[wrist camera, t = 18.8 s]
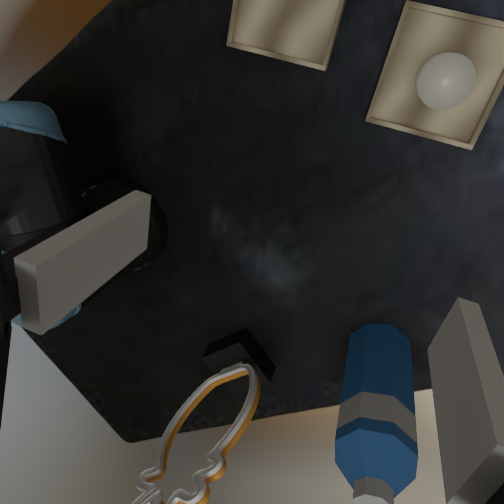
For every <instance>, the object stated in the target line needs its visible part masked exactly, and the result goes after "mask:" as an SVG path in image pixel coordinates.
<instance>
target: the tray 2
mask: <svg viewBox="0 0 504 504" xmlns="http://www.w3.org/2000/svg"><path fill="white" fill-rule="evenodd" d="M440 52H451V53H459V54H462V55H464V56H466V57H467V58H469V59H470V60H471V62H472V63H473V65H474V67H475V70H476V83H475V86H474V89H473V91H472V93H471V94H470V96H469V97H468V98H467V99H466V100H465V101H464V102H463V103H461V104H460V105H458V106H457V107H454V108H452V109H448V110H435V109H432V108H430V107H428V106H427V105H425V104H424V103H423V101H422V100H421V98H420V97H419V95H418V93H417V91H416V89H415V83H414V82H415V75H416V72H417V70H418V68H419V66H420V65H421V64H422V62H423V61H424V60H426V59H427V58H428V57H430V56H432V55H434V54H436V53H440ZM503 86H504V21H499V20H495V19H490V18H486V17H481V16H476V15H472V14H467V13H463V12H458V11H454V10H449V9H445V8H440V7H435V6H431V5H426V4H422V3H417V2H413V1H408V0H406V3H405V6H404V8H403V11H402V14H401V17H400V20H399V23H398V26H397V29H396V32H395V35H394V38H393V41H392V44H391V46H390V49H389V52H388V55H387V58H386V61H385V64H384V67H383V70H382V73H381V76H380V79H379V82H378V85H377V87H376V90H375V93H374V96H373V99H372V102H371V105H370V108H369V111H368V114H367V117H366V120H365V121H367V122H371V123H374V124H378V125H382V126H385V127H389V128H393V129H396V130H400V131H404V132H407V133H411V134H415V135H418V136H422V137H426V138H429V139H433V140H436V141H440V142H444V143H447V144H451V145H455V146H458V147H462V148H466V149H469V150H472V148H473V146H474V144H475V142H476V140H477V138H478V136H479V134H480V132H481V130H482V128H483V126H484V124H485V122H486V120H487V118H488V116H489V114H490V112H491V110H492V108H493V106H494V104H495V102H496V100H497V98H498V96H499V94H500V92H501V90H502V88H503Z"/></svg>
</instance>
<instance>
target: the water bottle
mask: <svg viewBox="0 0 504 504" xmlns="http://www.w3.org/2000/svg"><path fill="white" fill-rule="evenodd" d="M417 461H418V449H417V433H416V419H415V404H414V387H413V372H412V357H411V342H410V340H409V339H408V338H407V337H406V336H405V335H404V334H402V333H401V332H400V331H399V330H398V329H397V328H396V327H395V326H394V325H388V324H378V323H366V324H365V325H363V326H362V327H360V328H359V329H357V330H356V331H355V332H353V333H352V334H350V339H349V346H348V353H347V360H346V367H345V374H344V381H343V388H342V395H341V402H340V409H339V416H338V423H337V430H336V438H335V462H336V464H337V465H338V467H339V469H340V470H341V472H342V473H343V475H344V476H345V478H346V479H347V481H348V482H349V484H350V485H351V487H352V488H353V490H354V492H353V504H394V498H395V497H396V496H397V495H398V494H399V493H400V492H401V491H402V490H404V489H405V488H406V487H407V486H408V485H409V484H410V483H411V482H412V481H413V480H414V479H415V477H416V469H417Z"/></svg>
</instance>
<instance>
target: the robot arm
mask: <svg viewBox="0 0 504 504" xmlns="http://www.w3.org/2000/svg"><path fill="white" fill-rule="evenodd" d="M66 144H67V140H66V139H65V138H64V137H63V134H62V131H61V128H60V125H59V122H58V119H57V117H56V114H55V113H54V111H53V110H52V109H51V108H50V107H48V106H47V105H45V104H43V103H39V102H28V101H0V427H1V419H2V409H3V401H4V392H5V382H6V374H7V365H8V356H9V348H10V338H11V330H12V326H11V322H13V323H15V324H17V325H19V326H22V327H23V328H25V329H28V330H30V331H32V332H35V333H37V334H40V335H42V334H44V333H45V332H46V331H47V330H49V329H52V328H54V327H57V326H58V325H60V324H61V323H63V322H64V321H66V320H67V319H69V318H70V317H71V316H73V315H75V314H77V313H78V312H79V311H80V310H81V308H82V307H84V306H85V305H86V304H87V303H88V302H89V301H90V300H92V299H93V298H94V297H95V296H96V295H97V294H99V293H100V292H101V291H102V290H103V289H105V288H106V287H107V286H108V285H109V284H110V283H112V282H113V281H114V280H115V279H116V278H117V277H119V276H120V275H123V274H127V273H130V272H132V271H136V270H140V269H143V268H145V267H147V266H148V265H150V264H151V263H152V262H154V261H155V260H156V259H157V258H158V257H159V256H160V255H161V253H162V252H163V250H164V248H165V245H166V241H167V226H166V222H165V218H164V216H163V213H162V211H161V209H160V208H159V206H158V204H157V203H156V201H155V200H154V199H153V198H152V197H151V195H150V194H148V193H147V192H146V191H145V190H144V189H143V188H141V187H140V186H138V185H136V184H135V183H132V182H130V181H128V180H124V179H119V178H110V179H105V180H102V181H100V182H98V183H96V184H94V185H92V186H90V187H89V188H87V189H86V190H85V191H84V192H83V193H82V195H81V193H80V190H79V187H78V183H77V180H76V177H75V173H74V170H73V166H72V163H71V160H70V156H69V153H68V150H67V146H66ZM428 357H429V365H430V373H431V382H432V390H433V398H434V406H435V414H436V423H437V430H438V438H439V448H440V456H441V464H442V472H443V481H444V489H445V496H446V504H504V377H503V374H502V371H501V368H500V365H499V362H498V359H497V356H496V353H495V350H494V347H493V345H492V342H491V339H490V336H489V333H488V330H487V327H486V324H485V321H484V318H483V315H482V312H481V309H480V306H479V304H477V303H474V302H471V301H468V300H465V299H462V298H459V297H458V298H457V300H456V302H455V303H454V305H453V307H452V308H451V310H450V312H449V314H448V315H447V317H446V319H445V320H444V322H443V324H442V325H441V327H440V329H439V331H438V332H437V334H436V336H435V337H434V339H433V341H432V342H431V344H430V346H429V348H428Z"/></svg>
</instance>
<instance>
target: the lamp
mask: <svg viewBox="0 0 504 504" xmlns="http://www.w3.org/2000/svg"><path fill="white" fill-rule="evenodd" d="M201 359H202V360H203V361H204V363H205V364H206V365H207V366H208V368H209V369H210V370H211V371H212V373H213V374H214V375H213V376H212V377H210V378H209V379H207V380H206V381H205V382H204V383H203V384H202V385H201V386H200V387H198V388H197V390H196V391H195V392H194V393H193V394H192V395H191V396H190V397H189V398H188V399H187V400H186V402H185V403H184V404H183V405H182V406H181V408H180V409H179V410H178V412H177V413H176V414H175V416H174V417H173V419H172V420H171V422H170V423H169V425H168V426H167V428H166V430H165V432H164V434H163V436H162V438H161V441H160V443H159V446H158V449H157V452H156V455H155V461H154V466H153V467H152V468H149V469H146V470H144V471H143V472H142V473H141V474H140V475H139V477H138V478H137V481H136V487H137V488H138V489H139V490H140V491H141V492H142V494H141V495H140V496H138V497H137V498H136V499H135V500H134V501H133V502H132V503H131V504H164V502H163V501H162V498H163V495H164V493H163V491H162V490H161V489H159V490H158V486H157V485H156V484H155V483H150V482H153V481H156V480H159V479H161V478H162V477H163V476H164V474H165V472H166V467H167V466H166V465H167V457H168V453H169V450H170V447H171V444H172V442H173V440H174V438H175V436H176V434H177V432H178V430H179V429H180V427H181V425H182V424H183V422H184V421H185V419H186V418H187V417H188V415H189V414H190V413H191V412H192V410H193V409H194V408H195V407H196V406H197V404H198V403H199V402H200V401H201V400H202V399H203V398H204V397H205V396H206V395H207V394H208V393H209V392H210V391H211V390H212V389H213V388H214V387H216V386H217V385H219V384H222V385H223V386H224V387H225V389H226V390H227V391H228V392H229V394H230V395H234V394H237V393H240V392H243V391H246V390H249V391H248V395H247V398H246V401H245V403H244V405H243V408H242V410H241V411H240V413H239V415H238V417H237V418H236V420H235V421H234V423H233V424H232V426H231V427H230V429H229V430H228V431H227V432H226V434H225V435H224V436H223V437H222V439H221V440H220V441H219V442H218V443H217V444H216V445H215V446H214V447H213V448H212V450H210V451H209V453H208V454H207V455H206V458H207V460H208V461H209V462H211V463H213V464H212V465H211V466H209V467H207V468H204V469H201V470H198V471H196V472H195V473H194V474H193V475H192V481H193V482H194V484H195V485H196V491H195V492H194V493H191V492H188V491H187V490H185V489H183V488H179V489H177V490H176V491H174V492H173V494H172V495H171V496H170V498H169V499H168V501H167V502H166V504H206V503H207V502H208V500H209V498H210V488H209V486H208V484H209V483H211V482H213V481H216V480H218V479H220V478H221V477H222V476H223V474H224V473H225V471H226V461H225V459H224V458H225V456H226V455H227V454H228V452H230V450H231V449H232V448H233V447H234V445H235V444H236V442H237V441H238V440H239V438H240V437H241V436H242V434H243V433H244V431H245V429H246V428H247V426H248V425H249V423H250V421H251V419H252V417H253V415H254V412H255V410H256V407H257V404H258V401H259V396H260V386H261V385H264V384H267V383H270V382H271V379H272V376H273V374H274V371H275V368H276V366H275V365H274V364H273V362H272V361H271V360H270V358H269V357H268V356H267V355H266V353H265V352H264V351H263V349H262V348H261V347H260V345H259V344H258V343H257V341H256V340H255V339H254V337H253V336H252V335H251V333H250V332H249V331H248V329H247V328H246V329H244V330H242V331H239V332H237V333H235V334H232V335H230V336H228V337H225V338H223V339H221V340H219V341H216V342H214V343H212V344H209V346H208V348H207V349H206V351H205V352H204V354H203V356H202V357H201Z"/></svg>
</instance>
